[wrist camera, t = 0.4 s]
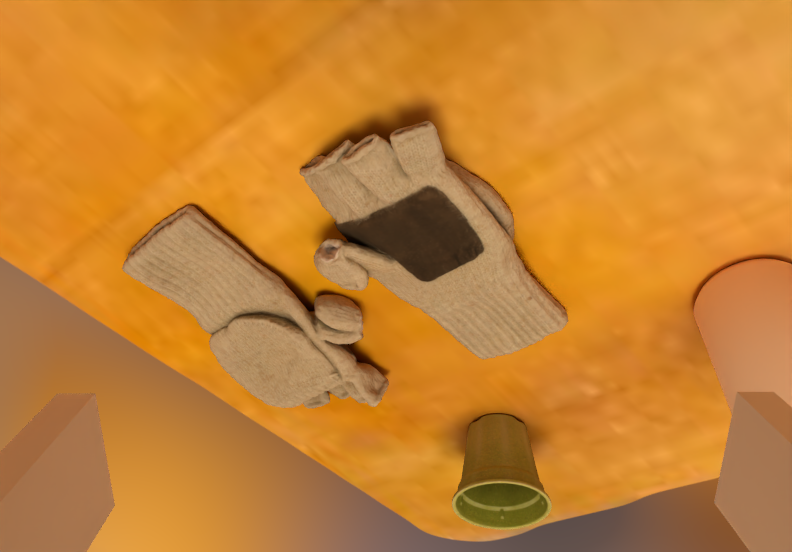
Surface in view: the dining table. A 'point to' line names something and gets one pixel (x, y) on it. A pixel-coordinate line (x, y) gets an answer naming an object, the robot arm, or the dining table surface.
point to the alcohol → (749, 327)
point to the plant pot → (500, 477)
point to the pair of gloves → (356, 272)
